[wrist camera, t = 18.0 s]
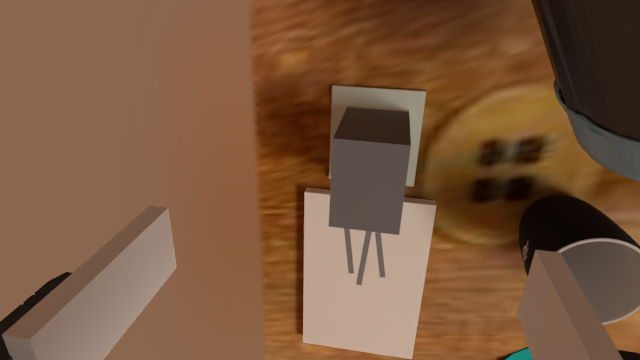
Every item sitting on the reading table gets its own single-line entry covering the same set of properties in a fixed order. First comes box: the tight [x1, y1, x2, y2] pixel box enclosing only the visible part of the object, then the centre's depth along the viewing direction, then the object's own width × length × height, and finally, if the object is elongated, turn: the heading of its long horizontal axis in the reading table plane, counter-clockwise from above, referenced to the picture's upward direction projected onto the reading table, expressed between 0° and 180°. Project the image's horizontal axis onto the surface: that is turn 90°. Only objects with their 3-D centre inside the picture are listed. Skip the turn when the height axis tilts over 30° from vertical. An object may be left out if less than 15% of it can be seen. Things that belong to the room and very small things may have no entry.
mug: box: [519, 195, 640, 325], centre depth 40 cm, size 12×9×10 cm
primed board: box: [303, 187, 437, 359], centre depth 50 cm, size 22×14×1 cm, turn 179°
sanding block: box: [329, 106, 411, 235], centre depth 39 cm, size 8×6×10 cm
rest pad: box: [329, 85, 426, 187], centre depth 43 cm, size 10×9×1 cm
